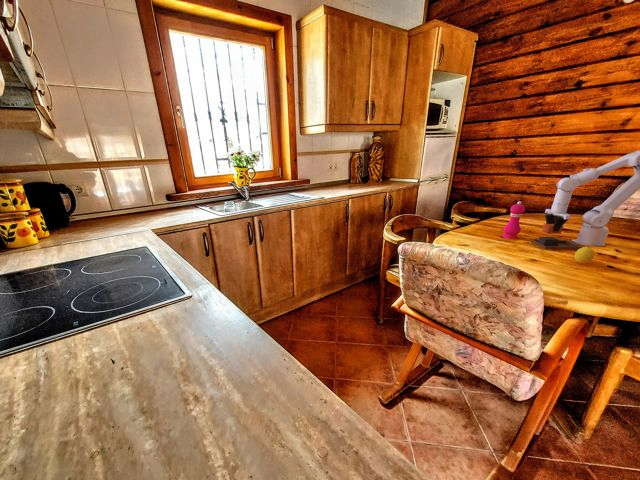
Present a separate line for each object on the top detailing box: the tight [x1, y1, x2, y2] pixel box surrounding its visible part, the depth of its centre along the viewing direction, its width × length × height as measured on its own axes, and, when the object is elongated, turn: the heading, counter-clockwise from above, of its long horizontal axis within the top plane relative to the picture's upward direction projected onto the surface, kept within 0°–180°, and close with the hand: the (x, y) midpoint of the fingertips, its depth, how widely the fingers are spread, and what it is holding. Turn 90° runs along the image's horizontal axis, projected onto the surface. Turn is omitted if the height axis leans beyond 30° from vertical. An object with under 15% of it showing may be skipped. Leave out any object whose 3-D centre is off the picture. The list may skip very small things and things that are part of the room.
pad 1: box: [541, 223, 564, 235], centre depth 142 cm, size 6×4×4 cm
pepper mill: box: [502, 200, 526, 240], centre depth 147 cm, size 7×7×20 cm
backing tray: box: [530, 239, 583, 251], centre depth 136 cm, size 15×10×2 cm
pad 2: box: [537, 236, 560, 246], centre depth 136 cm, size 6×4×4 cm
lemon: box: [573, 246, 595, 266], centre depth 115 cm, size 6×6×8 cm
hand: (552, 229), depth 142 cm, fingers closed on pad 1, 4 cm apart
